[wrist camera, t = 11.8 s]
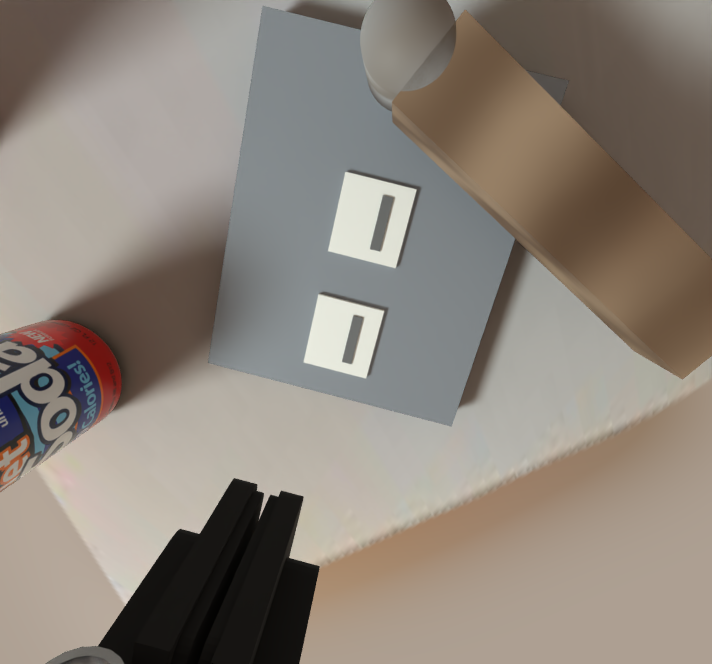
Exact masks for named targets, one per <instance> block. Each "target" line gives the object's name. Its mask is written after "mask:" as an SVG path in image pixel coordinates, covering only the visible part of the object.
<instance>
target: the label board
mask: <svg viewBox="0 0 712 664" xmlns="http://www.w3.org/2000/svg"><path fill="white" fill-rule="evenodd" d="M360 34H361V30H359V29H355V28H351V27H347V26H343V25H339V24H335V23H331V22H327V21H323V20H319V19H314V18H310V17H306V16H302V15H298V14H294V13H290V12H286V11H282V10H278V9H274V8H269V7H265V6H263V7H262V13H261V20H260V26H259V33H258V39H257V46H256V52H255V59H254V66H253V72H252V79H251V85H250V92H249V98H248V105H247V111H246V118H245V124H244V131H243V137H242V144H241V151H240V157H239V164H238V170H237V177H236V183H235V190H234V196H233V203H232V209H231V216H230V222H229V229H228V236H227V242H226V249H225V255H224V262H223V268H222V275H221V281H220V288H219V294H218V301H217V307H216V314H215V321H214V327H213V334H212V340H211V347H210V353H209V360H208V363H210V364H214V365H218V366H222V367H225V368H229V369H233V370H237V371H241V372H245V373H248V374H252V375H256V376H260V377H264V378H268V379H271V380H275V381H279V382H283V383H287V384H291V385H295V386H298V387H302V388H306V389H310V390H314V391H318V392H321V393H325V394H329V395H333V396H337V397H341V398H344V399H348V400H352V401H356V402H360V403H364V404H367V405H371V406H375V407H379V408H383V409H387V410H390V411H394V412H398V413H402V414H406V415H410V416H413V417H417V418H421V419H425V420H429V421H433V422H436V423H440V424H444V425H448V426H452V423H453V420H454V417H455V415H456V412H457V409H458V406H459V403H460V400H461V397H462V394H463V391H464V388H465V385H466V382H467V379H468V376H469V373H470V370H471V368H472V365H473V362H474V359H475V356H476V353H477V350H478V347H479V344H480V341H481V338H482V335H483V332H484V329H485V326H486V323H487V320H488V318H489V315H490V312H491V309H492V306H493V303H494V300H495V297H496V294H497V291H498V288H499V285H500V282H501V279H502V276H503V273H504V270H505V268H506V265H507V262H508V259H509V256H510V253H511V250H512V247H513V244H514V241H515V238H514V237H513V236H512V235H511V234H510V233H509V232H508V231H507V230H506V229H505V228H504V227H502V226H501V225H500V224H499V223H498V222H497V221H496V220H495V219H494V218H493V217H492V216H491V215H490V214H489V213H488V212H487V211H486V210H485V209H483V208H482V207H481V206H480V205H479V204H478V203H477V202H476V201H475V200H474V199H473V198H472V197H471V196H470V195H469V194H468V193H467V192H466V191H464V190H463V189H462V188H461V187H460V186H459V185H458V184H457V183H456V182H455V181H454V180H453V179H452V178H451V177H450V176H449V175H448V174H447V173H445V172H444V171H443V170H442V169H441V168H440V167H439V166H438V165H437V164H436V163H435V162H434V161H433V160H432V159H431V158H430V157H429V156H428V155H426V154H425V153H424V152H423V151H422V150H421V149H420V148H419V147H418V146H417V145H416V144H415V143H414V142H413V141H412V140H411V139H410V138H409V137H407V136H406V135H405V134H404V133H403V132H402V131H401V130H400V129H399V128H398V127H397V126H396V125H395V124H394V123H393V122H392V111H389V110H387V109H386V108H384V107H383V106H382V105H380V104H379V103H378V102H377V101H376V99H375V98H374V96H373V95H372V93H371V91H370V88H369V85H368V81H367V76H366V71H365V67H364V62H363V57H362V53H361V46H360ZM526 71H527V70H526ZM527 72H528V73H529V74H530V76H531V77H532V78H533V79H534V80H535V81H536V82H537V83H538V84H539V85H540V86H541V87H542V88H543V89H544V90H545V91H546V92H547V93H548V94H549V95H550V96H551V97H552V98H553V99H554V100H555V101H556V102H557V103H558V104H559V105H560V106H561V103H562V100H563V97H564V94H565V91H566V88H567V85H568V82H569V81H568V80H564V79H560V78H556V77H552V76H548V75H544V74H539V73H535V72H531V71H527Z"/></svg>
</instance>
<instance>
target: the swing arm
mask: <svg viewBox="0 0 712 664" xmlns="http://www.w3.org/2000/svg"><path fill="white" fill-rule="evenodd" d="M360 46H361V53H362V57H363V62H364V67H365V71H366V76H367V81H368V85H369V88H370V91H371V93H372V95H373V96H374V98H375V99H376V101H377V102H378V103H379V104H380V105H382V106H383V107H384V108H386V109H387V110H389V111H392V122H393V123H394V124H395V125H396V126H397V127H398V128H399V129H400V130H401V131H402V132H403V133H404V134H405V135H406V136H407V137H409V138H410V139H411V140H412V141H413V142H414V143H415V144H416V145H417V146H418V147H419V148H420V149H421V150H422V151H423V152H424V153H425V154H426V155H428V156H429V157H430V158H431V159H432V160H433V161H434V162H435V163H436V164H437V165H438V166H439V167H440V168H441V169H442V170H443V171H444V172H445V173H447V174H448V175H449V176H450V177H451V178H452V179H453V180H454V181H455V182H456V183H457V184H458V185H459V186H460V187H461V188H462V189H463V190H464V191H466V192H467V193H468V194H469V195H470V196H471V197H472V198H473V199H474V200H475V201H476V202H477V203H478V204H479V205H480V206H481V207H482V208H483V209H485V210H486V211H487V212H488V213H489V214H490V215H491V216H492V217H493V218H494V219H495V220H496V221H497V222H498V223H499V224H500V225H501V226H502V227H504V228H505V229H506V230H507V231H508V232H509V233H510V234H511V235H512V236H513V237H514V238H515V239H516V240H517V241H518V242H519V243H520V244H522V245H523V246H524V247H525V248H526V249H527V250H528V251H529V252H530V253H531V254H532V255H533V256H534V257H535V258H536V259H537V260H538V261H539V262H541V263H542V264H543V265H544V266H545V267H546V268H547V269H548V270H549V271H550V272H551V273H552V274H553V275H554V276H555V277H556V278H557V279H558V280H560V281H561V282H562V283H563V284H564V285H565V286H566V287H567V288H568V289H569V290H570V291H571V292H572V293H573V294H574V295H575V296H576V297H577V298H579V299H580V300H581V301H582V302H583V303H584V304H585V305H586V306H587V307H588V308H589V309H590V310H591V311H592V312H593V313H594V314H595V315H596V316H598V317H599V318H600V319H601V320H602V321H603V322H604V323H605V324H606V325H607V326H608V327H609V328H610V329H611V330H612V331H613V332H614V333H616V334H617V335H618V336H619V337H620V338H621V339H622V340H623V341H624V342H625V343H626V344H627V345H628V346H629V347H630V348H631V349H632V350H633V351H635V352H637V353H638V354H640V355H642V356H643V357H645V358H647V359H649V360H650V361H652V362H654V363H655V364H657V365H659V366H661V367H662V368H664V369H666V370H667V371H669V372H671V373H673V374H674V375H676V376H678V377H679V378H681V379H684V378H685V377H686V376H687V375H689V374H690V373H691V372H692V371H693V370H695V369H696V368H697V367H698V366H700V365H701V364H702V363H703V362H705V361H706V360H707V359H708V358H710V357H711V356H712V259H711V258H710V257H709V256H708V255H707V254H706V253H705V252H704V251H703V250H702V249H701V247H700V246H699V245H698V244H697V243H696V242H695V241H694V240H693V239H692V238H691V237H690V236H689V235H688V234H687V233H686V232H685V231H684V230H683V229H682V228H681V227H680V226H679V225H678V224H677V223H676V222H675V221H674V220H673V219H672V218H671V217H670V216H669V215H668V214H667V213H666V212H665V211H664V210H663V209H662V208H661V207H660V206H659V205H658V204H657V203H656V202H655V201H654V200H653V199H652V198H651V197H650V196H649V195H648V194H647V193H646V192H645V191H644V190H643V189H642V188H641V187H640V186H639V185H638V184H637V183H636V182H635V181H634V180H633V179H632V178H631V177H630V176H629V175H628V174H627V173H626V172H625V171H624V170H623V169H622V168H621V167H620V166H619V165H618V164H617V163H616V162H615V160H614V159H613V158H612V157H611V156H610V155H609V154H608V153H607V152H606V151H605V150H604V149H603V148H602V147H601V146H600V145H599V144H598V143H597V142H596V141H595V140H594V139H593V138H592V137H591V136H590V135H589V134H588V133H587V132H586V131H585V130H584V129H583V128H582V127H581V126H580V125H579V124H578V123H577V122H576V121H575V120H574V119H573V118H572V117H571V116H570V115H569V114H568V113H567V112H566V111H565V110H564V109H563V108H562V107H561V106H560V105H559V104H558V103H557V102H556V101H555V100H554V99H553V98H552V97H551V96H550V95H549V94H548V93H547V92H546V91H545V90H544V89H543V88H542V87H541V86H540V85H539V84H538V83H537V82H536V81H535V80H534V79H533V78H532V77H531V76H530V74H529V73H528V72H527V71H526V70H525V69H524V68H523V67H522V66H521V65H520V64H519V63H518V62H517V61H516V60H515V59H514V58H513V57H512V56H511V55H510V54H509V53H508V52H507V51H506V50H505V49H504V48H503V47H502V46H501V45H500V44H499V43H498V42H497V41H496V40H495V39H494V38H493V37H492V36H491V35H490V34H489V33H488V32H487V31H486V30H485V29H484V28H483V27H482V26H481V25H480V24H479V23H478V22H477V21H476V20H475V19H474V18H473V17H472V16H471V15H470V14H469V13H468V12H467V11H466V10H464V12H463V13H462V14H461V15H460V17H459V18H458V19H457V21H456V22H455V18H454V15H453V11H452V9H451V7H450V5H449V4H448V2H447V0H374V1H373V2H372V4H371V5H370V7H369V8H368V10H367V12H366V14H365V17H364V20H363V23H362V27H361V34H360Z"/></svg>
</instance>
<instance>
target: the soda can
mask: <svg viewBox="0 0 712 664" xmlns="http://www.w3.org/2000/svg"><path fill="white" fill-rule="evenodd" d="M121 387H122V378H121V372H120V368H119V365H118V362H117V360H116V358H115V356H114V354H113V352H112V351H111V349H110V348H109V347H108V345H107V344H106V343H105V342H104V341H103V340H102V339H101V338H100V337H99V336H98V335H96V334H95V333H94V332H92V331H91V330H89V329H87V328H86V327H84V326H82V325H79V324H77V323H74V322H70V321H65V320H48V321H42V322H38V323H35V324H31V325H28V326H25V327H21V328H18V329H15V330H12V331H9V332H5V333H2V334H0V492H2V491H3V490H5V489H6V488H7V487H9V486H10V485H12V484H13V483H14V482H16V481H17V480H19V479H20V478H21V477H23V476H24V475H26V474H27V473H28V472H30V471H31V470H33V469H34V468H36V467H37V466H38V465H40V464H41V463H43V462H44V461H45V460H47V459H48V458H50V457H51V456H52V455H54V454H55V453H57V452H58V451H59V450H61V449H62V448H64V447H65V446H66V445H68V444H69V443H71V442H72V441H73V440H75V439H76V438H78V437H79V436H80V435H82V434H83V433H85V432H86V431H88V430H89V429H90V428H92V427H93V426H95V425H96V424H97V423H99V422H100V421H101V420H103V419H104V418H105V417H106V416H107V415H108V414H109V413H110V412H111V411H112V410H113V409H114V408H115V406H116V404H117V402H118V400H119V397H120V394H121Z"/></svg>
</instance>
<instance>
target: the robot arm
mask: <svg viewBox="0 0 712 664" xmlns="http://www.w3.org/2000/svg"><path fill="white" fill-rule="evenodd" d="M263 497H264V493H262V492H258V491H257V484H254V483H250V482H247V481H243V480H239V479H235V478H234V479H233V480H232V482H231V483H230V485H229V487H228V488H227V490H226V492H225V493H224V495H223V497H222V498H221V500H220V501H219V503H218V505H217V506H216V508H215V510H214V511H213V513H212V515H211V516H210V518H209V520H208V521H207V523H206V525H205V526H204V528H203V530H202V531H201V533H200V534H197V533H194V532H190V531H186V530H182V529H180V530H178V531H177V532H176V533H175V535H174V536H173V537H172V539H171V540H170V541H169V543H168V544H167V546H166V547H165V549H164V550H163V552H162V553H161V555H160V556H159V558H158V559H157V560H156V562H155V563H154V565H153V566H152V568H151V569H150V571H149V572H148V574H147V575H146V577H145V578H144V580H143V581H142V582H141V584H140V585H139V587H138V588H137V590H136V591H135V593H134V594H133V596H132V597H131V599H130V600H129V601H128V603H127V604H126V606H125V607H124V609H123V610H122V612H121V613H120V615H119V616H118V618H117V619H116V621H115V622H114V623H113V625H112V626H111V628H110V629H109V631H108V632H107V634H106V635H105V637H104V638H103V640H102V641H101V642H100V644H99V645H98V646H92V647H80V648H77V649H74V650H70V651H67V652H64V653H62V654H61V655H59V656H57V657H55V658H53V659H52V660H50V661H49V662H47V663H46V664H299V662H300V657H301V652H302V648H303V643H304V638H305V634H306V629H307V624H308V619H309V615H310V610H311V605H312V601H313V596H314V591H315V586H316V581H317V577H318V572H319V567H320V566H317V565H313V564H309V563H305V562H302V561H298V560H294V559H290V558H289V556H290V551H291V547H292V543H293V539H294V535H295V531H296V527H297V523H298V519H299V515H300V510H301V506H302V502H303V496H299V495H296V494H292V493H288V492H284V491H281V492H280V494H279V497H277V496H273V495H270V497H269V499H268V501H267V503H266V506H265V508H264V510H263V512H262V515H261V517H260V519H259V516H260V511H261V507H262V502H263Z"/></svg>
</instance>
